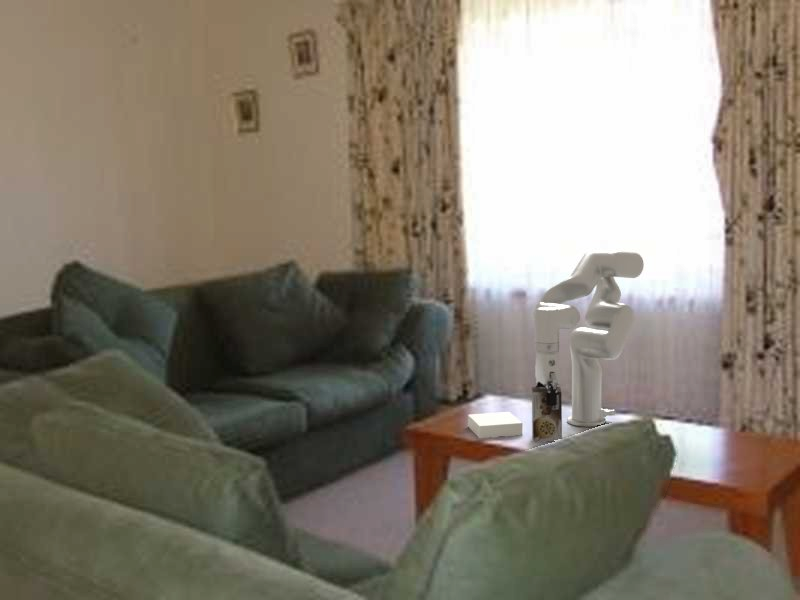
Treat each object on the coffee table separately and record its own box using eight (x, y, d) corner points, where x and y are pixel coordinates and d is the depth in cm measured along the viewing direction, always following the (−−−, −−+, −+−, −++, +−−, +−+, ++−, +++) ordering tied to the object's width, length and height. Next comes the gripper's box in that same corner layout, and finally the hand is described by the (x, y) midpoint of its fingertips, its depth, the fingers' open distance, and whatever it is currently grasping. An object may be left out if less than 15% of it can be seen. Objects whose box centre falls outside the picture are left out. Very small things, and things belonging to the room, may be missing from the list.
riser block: (509, 423, 319) (509, 411, 318) (522, 435, 305) (522, 422, 305) (468, 426, 316) (468, 414, 316) (479, 438, 303) (479, 426, 302)
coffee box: (560, 436, 303) (561, 386, 301) (562, 442, 297) (562, 391, 295) (531, 436, 304) (531, 386, 302) (532, 442, 298) (532, 391, 296)
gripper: (568, 351, 289) (567, 407, 291) (548, 342, 305) (548, 394, 308) (544, 352, 287) (543, 409, 289) (526, 343, 304) (525, 396, 306)
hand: (545, 401), depth 298 cm, fingers open, 9 cm apart
